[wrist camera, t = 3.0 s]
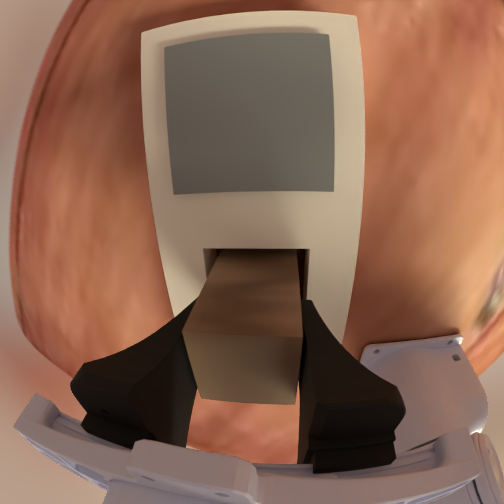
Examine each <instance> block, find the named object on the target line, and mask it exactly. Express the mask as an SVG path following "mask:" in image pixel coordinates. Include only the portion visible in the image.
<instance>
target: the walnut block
mask: <svg viewBox="0 0 504 504" xmlns="http://www.w3.org/2000/svg"><path fill="white" fill-rule="evenodd" d="M182 333H183V337H184V341H185V345H186V349H187V352H188V356H189V360H190V363H191V367H192V370H193V374H194V377H195V380H196V384H197V387H198V390H199V393H200V396H201V398H202V399H210V400H219V401H229V402H241V403H256V404H284V405H295V401H296V394H297V386H298V378H299V369H300V360H301V351H302V341H303V330H302V314H301V299H300V286H299V273H298V262H297V250H296V249H256V248H222V249H221V251H220V253H219V255H218V257H217V259H216V261H215V263H214V265H213V267H212V269H211V272H210V274H209V276H208V278H207V280H206V282H205V284H204V286H203V288H202V290H201V292H200V294H199V296H198V298H197V300H196V302H195V304H194V307H193V309H192V311H191V313H190V315H189V317H188V319H187V321H186V323H185V326H184V328H183V330H182Z"/></svg>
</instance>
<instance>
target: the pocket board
mask: <svg viewBox="0 0 504 504" xmlns="http://www.w3.org/2000/svg"><path fill="white" fill-rule="evenodd" d="M258 33H315V34H329V40H330V51H331V63H332V77H333V96H334V129H335V165H334V192H319V191H251V192H218V193H196V194H179V195H174V194H173V185H172V176H171V166H170V155H169V144H168V131H167V116H166V96H165V63H164V47H167V46H172V45H176V44H181V43H186V42H191V41H197V40H203V39H209V38H216V37H224V36H233V35H244V34H258ZM141 93H142V114H143V129H144V141H145V152H146V162H147V171H148V179H149V187H150V195H151V202H152V208H153V215H154V221H155V227H156V233H157V239H158V244H159V250H160V255H161V260H162V265H163V270H164V275H165V280H166V284H167V289H168V293H169V297H170V302H171V306H172V310H173V314H174V317H176V316H177V315H178V314H179V313H180V312H181V311H183V310H184V309H185V308H186V307H187V306H188V305H189V304H190V303H192V302H193V301H194V300H195V299H196V298H197V297H198V296H199V294H200V292H201V290H202V288H203V286H204V284H205V282H206V280H207V278H208V276H209V274H210V272H211V269H212V267H213V265H214V263H215V261H216V259H217V253H216V248H256V249H305V266H304V285H303V300H312V302H313V303H314V305H315V307H316V309H317V311H318V313H319V315H320V316H321V318H322V319H323V321H324V323H325V324H326V325H327V327H328V328H329V330H330V331H331V333H332V334H333V335H334V336H335V338H336V339H337V340H338V341H339V343H340V344H341V345H342V341H343V336H344V332H345V327H346V322H347V317H348V311H349V306H350V300H351V294H352V288H353V282H354V275H355V268H356V261H357V253H358V245H359V236H360V226H361V215H362V202H363V187H364V165H365V104H364V83H363V69H362V58H361V48H360V39H359V31H358V24H357V17H356V16H354V15H347V14H339V13H329V12H315V11H256V12H243V13H233V14H224V15H217V16H210V17H204V18H198V19H193V20H188V21H183V22H179V23H174V24H170V25H166V26H162V27H159V28H155V29H151V30H148V31H145V32H141Z"/></svg>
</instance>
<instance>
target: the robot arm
mask: <svg viewBox="0 0 504 504" xmlns="http://www.w3.org/2000/svg"><path fill="white" fill-rule="evenodd" d="M197 298H198V297H197ZM197 298H196V299H195V300H194V301H193V302H192V303H190V304H189V305H188V306H187V307H186V308H185V309H184V310H183V311H181V312H180V313H179V314H178V315H177V316H176V317H174V318H173V319H172V320H171V321H169V322H168V323H167V324H166V325H164V326H163V327H162V328H160V329H159V330H158V331H156V332H155V333H153V334H152V335H150V336H149V337H147V338H145V339H144V340H142V341H140V342H139V343H137V344H135V345H133V346H131V347H129V348H127V349H125V350H122V351H120V352H118V353H115V354H113V355H110V356H107V357H104V358H101V359H98V360H94V361H90V362H87V363H84V364H83V365H82V367H81V368H80V369H79V371H78V372H77V374H76V375H75V377H74V378H73V380H72V381H71V383H70V387H71V390H72V393H73V394H74V396H75V397H76V399H77V400H78V401H79V403H80V404H81V405H82V407H83V408H84V409H85V410H86V412H87V414H86V416H85V418H84V420H83V421H82V422H81V421H79V420H77V419H74V418H72V417H70V416H68V415H66V414H64V413H62V412H60V411H59V409H58V408H57V407H56V405H55V404H54V403H53V402H51V401H50V400H48V399H46V398H45V397H42V396H41V395H39V394H37V393H35V394H34V396H33V397H32V398H31V400H30V401H29V403H28V404H27V406H26V407H25V409H24V410H23V412H22V413H21V415H20V416H19V418H18V420H17V421H16V423H15V424H14V428H15V429H16V430H17V431H18V432H19V433H20V434H21V435H22V436H23V437H24V438H25V439H26V440H27V441H28V442H29V443H30V444H32V445H33V446H34V447H35V448H36V449H37V450H39V451H40V452H41V453H42V454H43V455H45V456H47V457H48V458H50V459H51V460H53V461H54V462H56V463H58V464H59V465H61V466H63V467H64V468H66V469H68V470H69V471H71V472H73V473H74V474H76V475H78V476H80V477H82V478H83V479H85V480H87V481H89V482H91V483H93V484H95V485H97V486H99V487H101V488H103V489H105V490H107V494H106V496H105V499H104V502H103V504H504V477H503V473H502V469H501V465H500V462H499V459H498V456H497V453H496V451H495V449H494V446H493V444H492V442H491V440H490V439H489V437H488V436H487V435H486V434H482V433H481V432H482V430H483V428H484V426H485V423H486V420H487V414H488V403H487V397H486V393H485V391H484V389H483V387H482V385H481V383H480V381H479V379H478V377H477V375H476V373H475V371H474V369H473V367H472V365H471V364H470V362H469V360H468V358H467V356H466V355H465V353H464V351H463V349H462V348H461V346H460V344H461V342H462V340H463V336H462V335H461V334H456V335H450V336H443V337H436V338H429V339H421V340H412V341H403V342H393V343H381V344H370V345H367V346H366V347H365V348H364V350H363V353H362V356H361V360H360V362H359V361H357V360H356V359H355V358H354V357H353V356H352V355H351V354H350V353H349V352H348V351H347V350H346V349H345V348H344V347H343V346H342V345H341V344H340V343H339V341H338V340H337V339H336V338H335V336H334V335H333V334H332V333H331V331H330V330H329V328H328V327H327V325H326V324H325V323H324V321H323V319H322V318H321V316H320V315H319V313H318V311H317V309H316V307H315V305H314V303H313V302H312V300H301V314H302V330H303V341H302V351H301V360H300V369H299V378H298V381H299V391H300V417H299V443H298V460H297V464H260V463H250V462H249V461H247V460H244V459H242V458H239V457H236V456H231V455H226V454H220V453H213V452H206V451H200V450H194V449H189V448H186V443H187V436H188V430H189V424H190V419H191V414H192V409H193V404H194V400H195V395H196V391H197V388H198V387H197V384H196V380H195V377H194V374H193V370H192V367H191V363H190V360H189V356H188V352H187V349H186V345H185V341H184V337H183V333H182V330H183V328H184V326H185V323H186V321H187V319H188V317H189V315H190V313H191V311H192V309H193V307H194V304H195V302H196V300H197ZM377 349H378V350H377Z"/></svg>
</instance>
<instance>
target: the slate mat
mask: <svg viewBox="0 0 504 504" xmlns="http://www.w3.org/2000/svg"><path fill="white" fill-rule="evenodd" d="M164 63H165V96H166V116H167V131H168V144H169V155H170V166H171V176H172V185H173V194H174V195H179V194H196V193H218V192H251V191H319V192H334V165H335V129H334V96H333V77H332V63H331V51H330V40H329V34H315V33H258V34H244V35H233V36H224V37H216V38H209V39H203V40H197V41H191V42H186V43H181V44H176V45H172V46H167V47H164Z"/></svg>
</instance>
